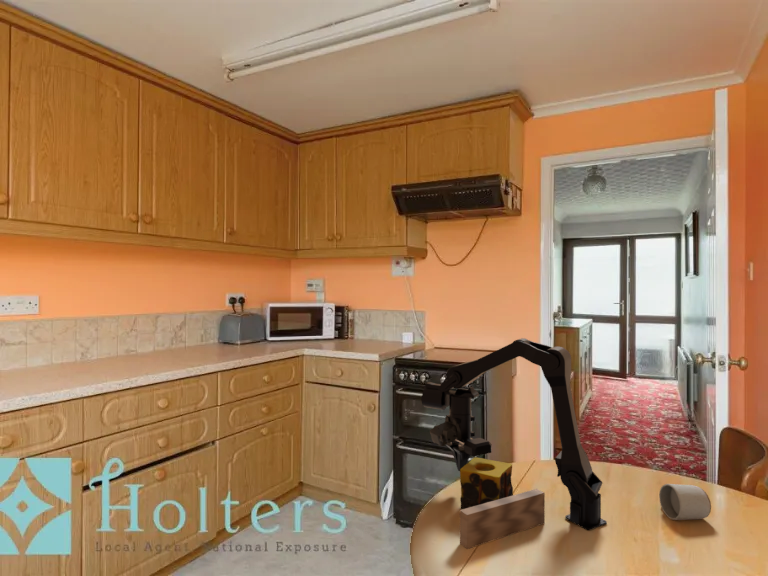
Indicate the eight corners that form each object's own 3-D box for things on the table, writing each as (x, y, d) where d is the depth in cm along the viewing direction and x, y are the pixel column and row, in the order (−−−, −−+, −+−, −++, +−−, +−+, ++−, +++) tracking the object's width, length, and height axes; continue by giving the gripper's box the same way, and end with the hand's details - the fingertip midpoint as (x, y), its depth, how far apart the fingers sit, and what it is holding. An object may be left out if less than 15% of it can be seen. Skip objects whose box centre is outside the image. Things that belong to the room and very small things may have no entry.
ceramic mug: (714, 524, 108) (714, 490, 108) (680, 526, 107) (680, 491, 107) (681, 503, 118) (680, 472, 118) (649, 505, 117) (649, 474, 117)
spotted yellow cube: (513, 503, 118) (513, 463, 118) (500, 520, 110) (500, 477, 110) (475, 494, 124) (475, 455, 124) (459, 509, 115) (459, 468, 115)
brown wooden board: (536, 518, 110) (536, 488, 110) (544, 523, 108) (544, 492, 108) (459, 543, 100) (459, 510, 100) (467, 548, 98) (466, 515, 98)
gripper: (415, 408, 130) (416, 464, 131) (456, 425, 114) (457, 490, 114) (449, 403, 136) (449, 457, 136) (492, 419, 119) (493, 481, 119)
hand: (460, 471), depth 126 cm, fingers closed
